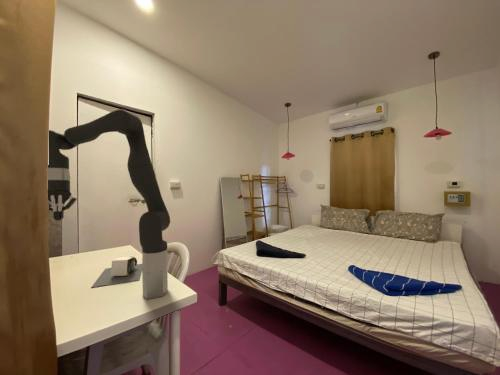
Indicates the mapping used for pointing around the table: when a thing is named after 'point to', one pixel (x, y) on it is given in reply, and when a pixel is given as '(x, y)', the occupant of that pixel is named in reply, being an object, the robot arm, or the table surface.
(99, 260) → the table surface
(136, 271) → the mat
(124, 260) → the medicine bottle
